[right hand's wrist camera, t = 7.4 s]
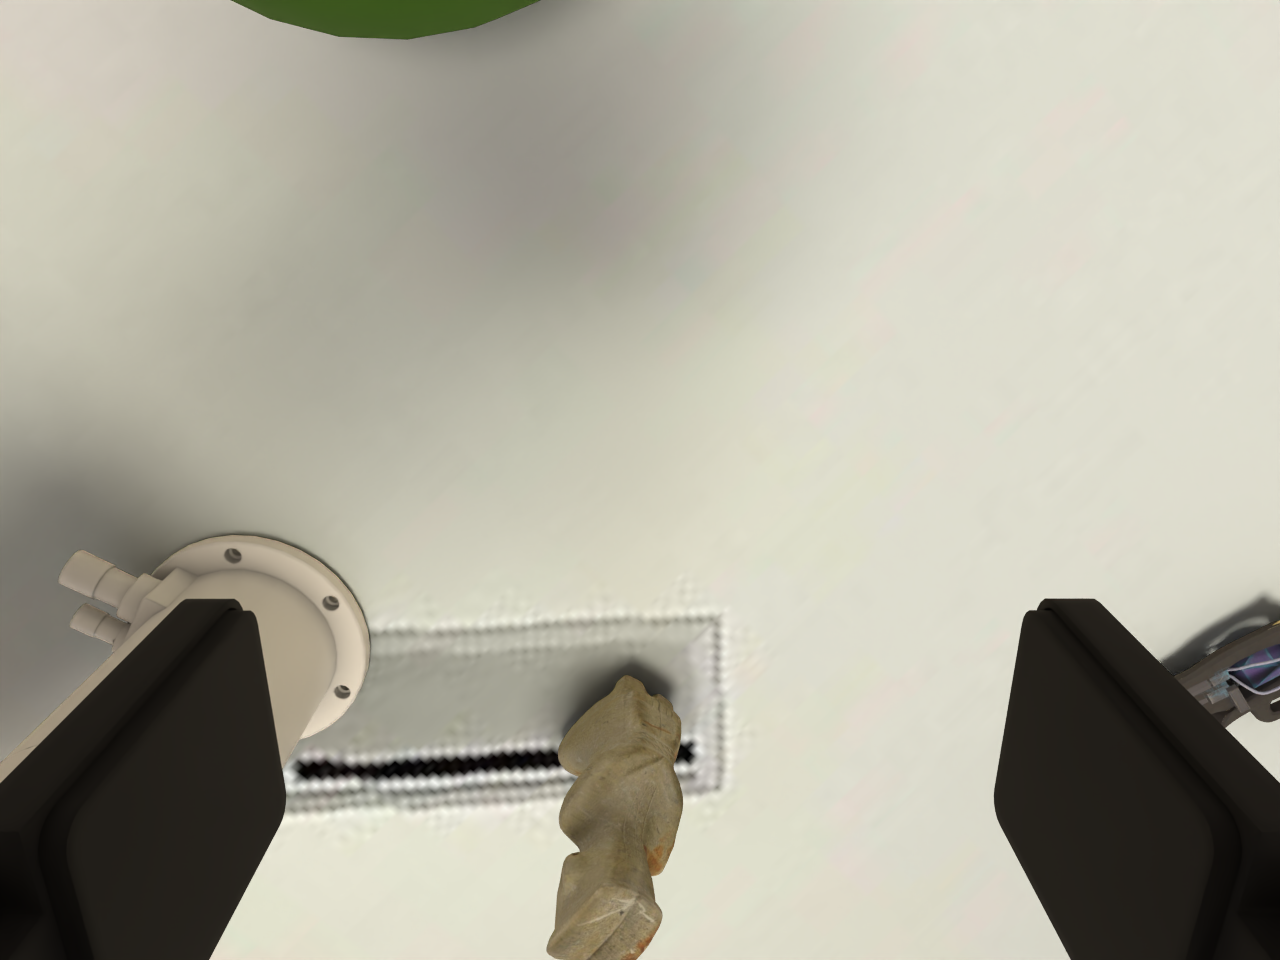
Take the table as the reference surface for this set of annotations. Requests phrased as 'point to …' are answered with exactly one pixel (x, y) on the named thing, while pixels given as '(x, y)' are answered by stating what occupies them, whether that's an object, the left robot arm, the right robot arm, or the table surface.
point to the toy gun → (1239, 677)
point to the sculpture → (617, 824)
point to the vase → (385, 15)
